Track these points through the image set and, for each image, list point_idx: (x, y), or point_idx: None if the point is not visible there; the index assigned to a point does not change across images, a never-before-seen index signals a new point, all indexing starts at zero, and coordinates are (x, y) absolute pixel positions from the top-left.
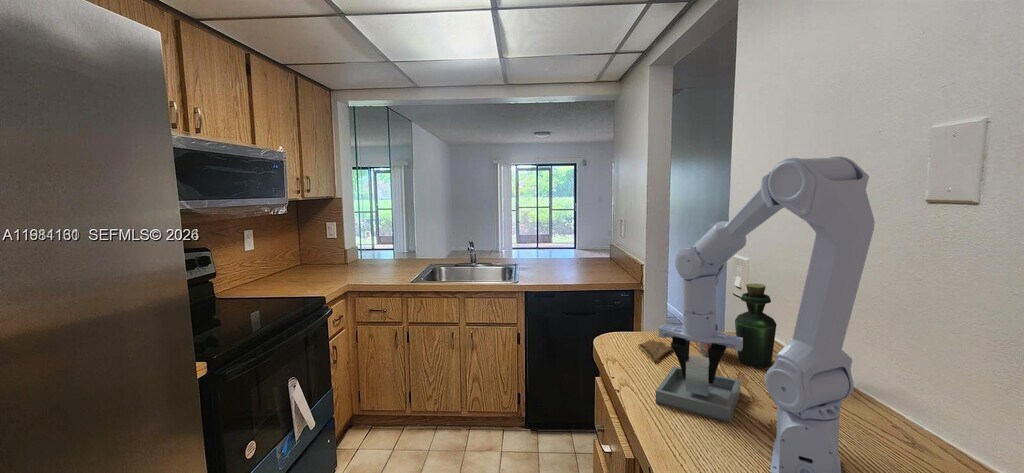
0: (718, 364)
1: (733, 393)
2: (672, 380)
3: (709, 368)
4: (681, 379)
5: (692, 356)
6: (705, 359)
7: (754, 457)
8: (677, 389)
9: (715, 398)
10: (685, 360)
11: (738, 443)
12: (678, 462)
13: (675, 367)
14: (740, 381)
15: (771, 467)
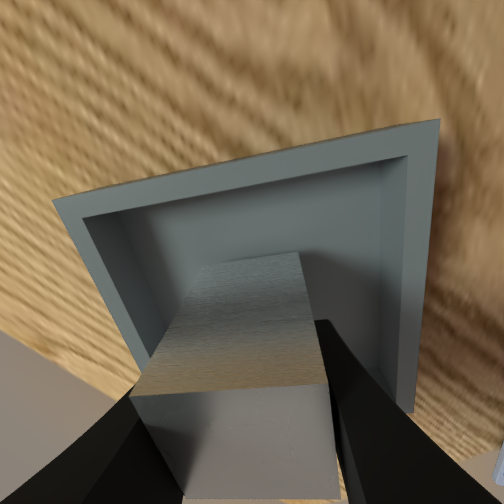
0: (385, 393)
1: (413, 305)
2: (135, 279)
3: (344, 480)
4: (140, 212)
5: (165, 423)
6: (277, 423)
7: (459, 446)
8: (182, 299)
9: (321, 281)
10: (174, 489)
11: (422, 425)
12: (327, 501)
13: (68, 210)
14: (434, 120)
15: (500, 476)
